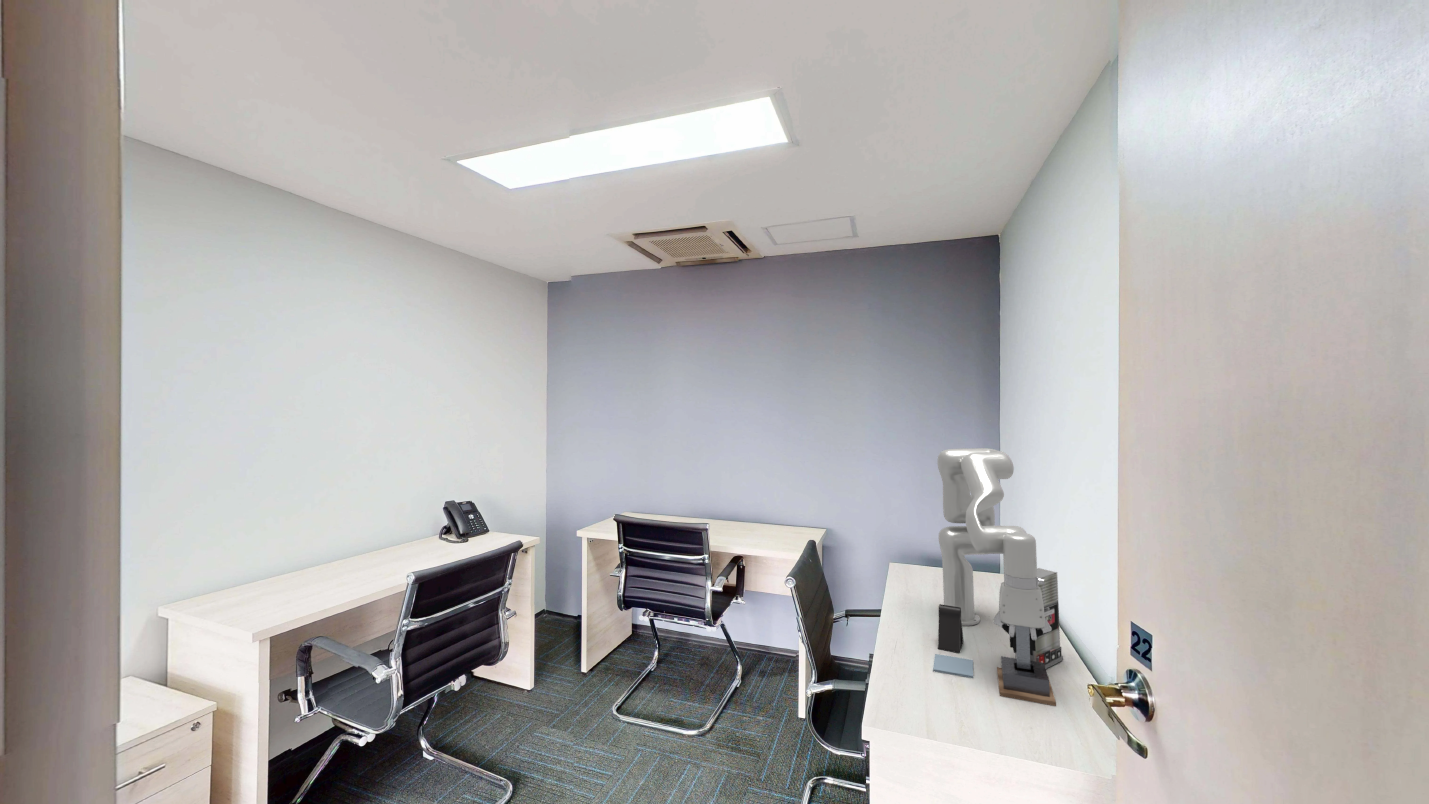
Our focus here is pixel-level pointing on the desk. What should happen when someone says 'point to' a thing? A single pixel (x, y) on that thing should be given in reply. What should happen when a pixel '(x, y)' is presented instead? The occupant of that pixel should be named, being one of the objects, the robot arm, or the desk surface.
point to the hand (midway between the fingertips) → (1022, 651)
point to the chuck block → (1025, 677)
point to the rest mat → (953, 665)
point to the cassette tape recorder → (1049, 641)
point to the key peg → (1022, 647)
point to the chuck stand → (1023, 695)
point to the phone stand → (950, 629)
